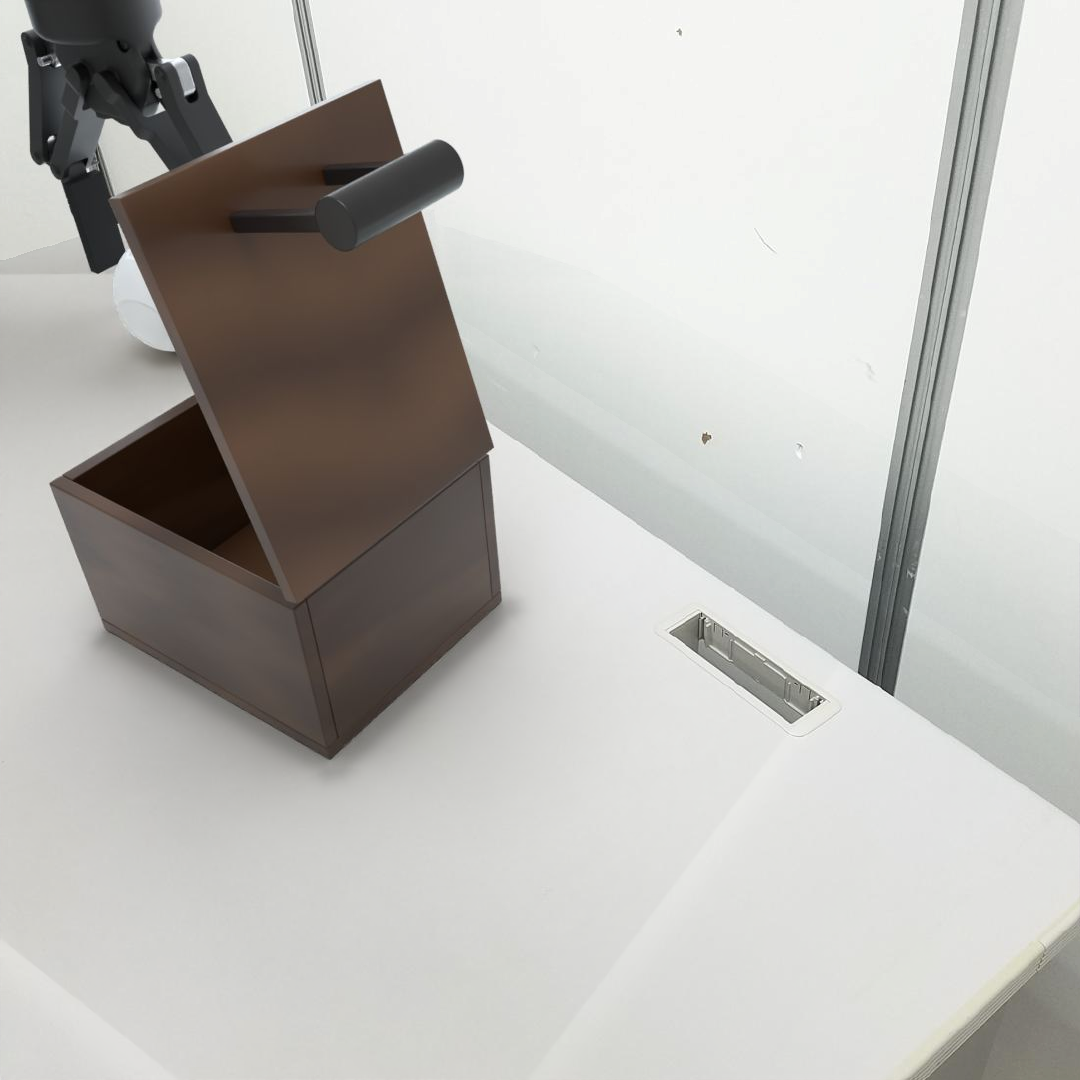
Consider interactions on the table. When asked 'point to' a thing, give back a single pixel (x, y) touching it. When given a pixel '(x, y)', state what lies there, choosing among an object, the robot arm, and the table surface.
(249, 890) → the table surface
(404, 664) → the compartment
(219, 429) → the compartment door
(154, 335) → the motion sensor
